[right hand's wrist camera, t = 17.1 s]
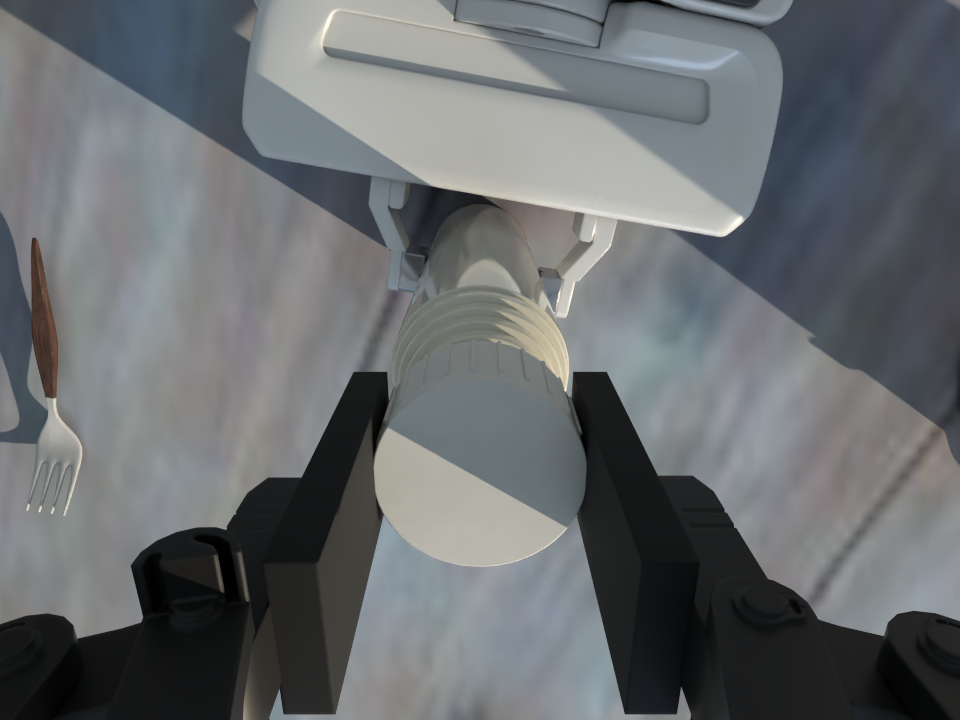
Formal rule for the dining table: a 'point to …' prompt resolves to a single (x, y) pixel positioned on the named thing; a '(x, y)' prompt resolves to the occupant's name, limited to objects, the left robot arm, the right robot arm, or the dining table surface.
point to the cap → (480, 455)
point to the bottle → (480, 294)
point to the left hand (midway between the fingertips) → (477, 301)
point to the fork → (50, 392)
